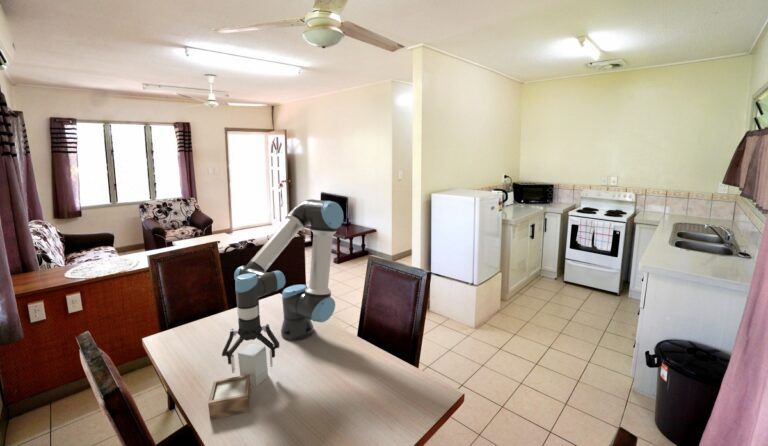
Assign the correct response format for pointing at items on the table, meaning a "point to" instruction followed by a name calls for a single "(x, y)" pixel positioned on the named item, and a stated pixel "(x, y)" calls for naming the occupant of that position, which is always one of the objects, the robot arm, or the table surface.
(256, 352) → the supplement box
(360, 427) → the table surface
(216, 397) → the brown square open box
